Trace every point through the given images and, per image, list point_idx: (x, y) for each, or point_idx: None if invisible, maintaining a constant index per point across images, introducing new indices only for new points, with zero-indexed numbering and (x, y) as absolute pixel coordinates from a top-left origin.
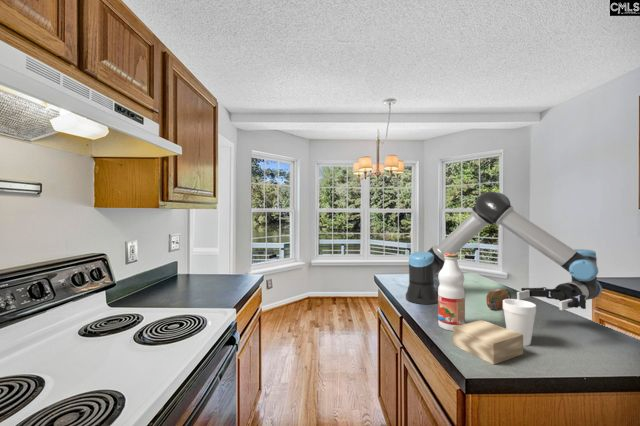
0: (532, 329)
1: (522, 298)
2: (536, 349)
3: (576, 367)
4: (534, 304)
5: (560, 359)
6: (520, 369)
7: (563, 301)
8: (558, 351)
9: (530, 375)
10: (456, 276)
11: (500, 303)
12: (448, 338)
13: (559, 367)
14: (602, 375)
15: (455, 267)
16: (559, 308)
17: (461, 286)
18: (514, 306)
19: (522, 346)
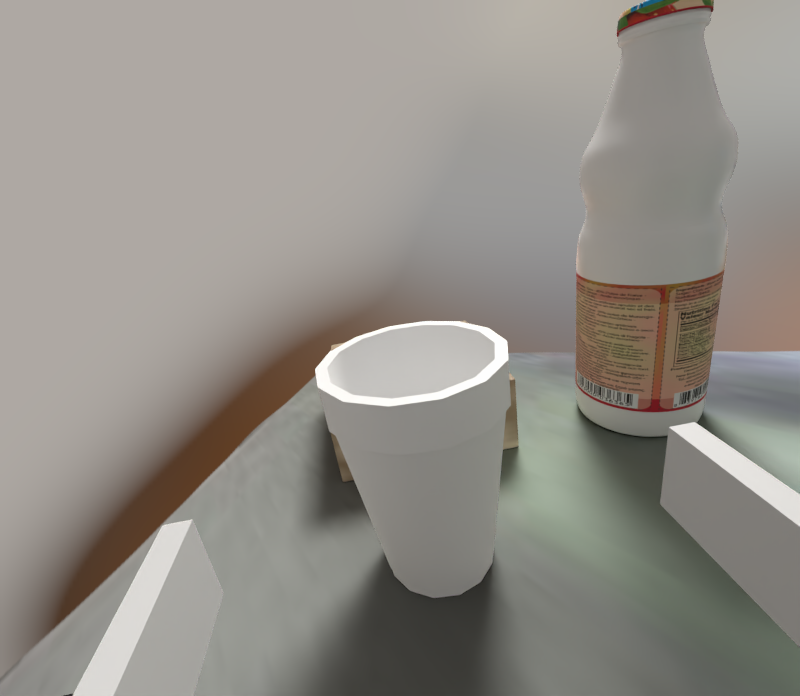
0: (366, 509)
1: (714, 553)
2: (343, 556)
3: None
4: (345, 397)
5: (235, 572)
6: (293, 427)
7: (147, 564)
8: (270, 646)
9: (263, 429)
10: (583, 156)
11: None
12: (516, 375)
13: (220, 517)
14: (76, 608)
15: (607, 102)
16: (218, 583)
17: (601, 218)
18: (377, 331)
19: (336, 454)
